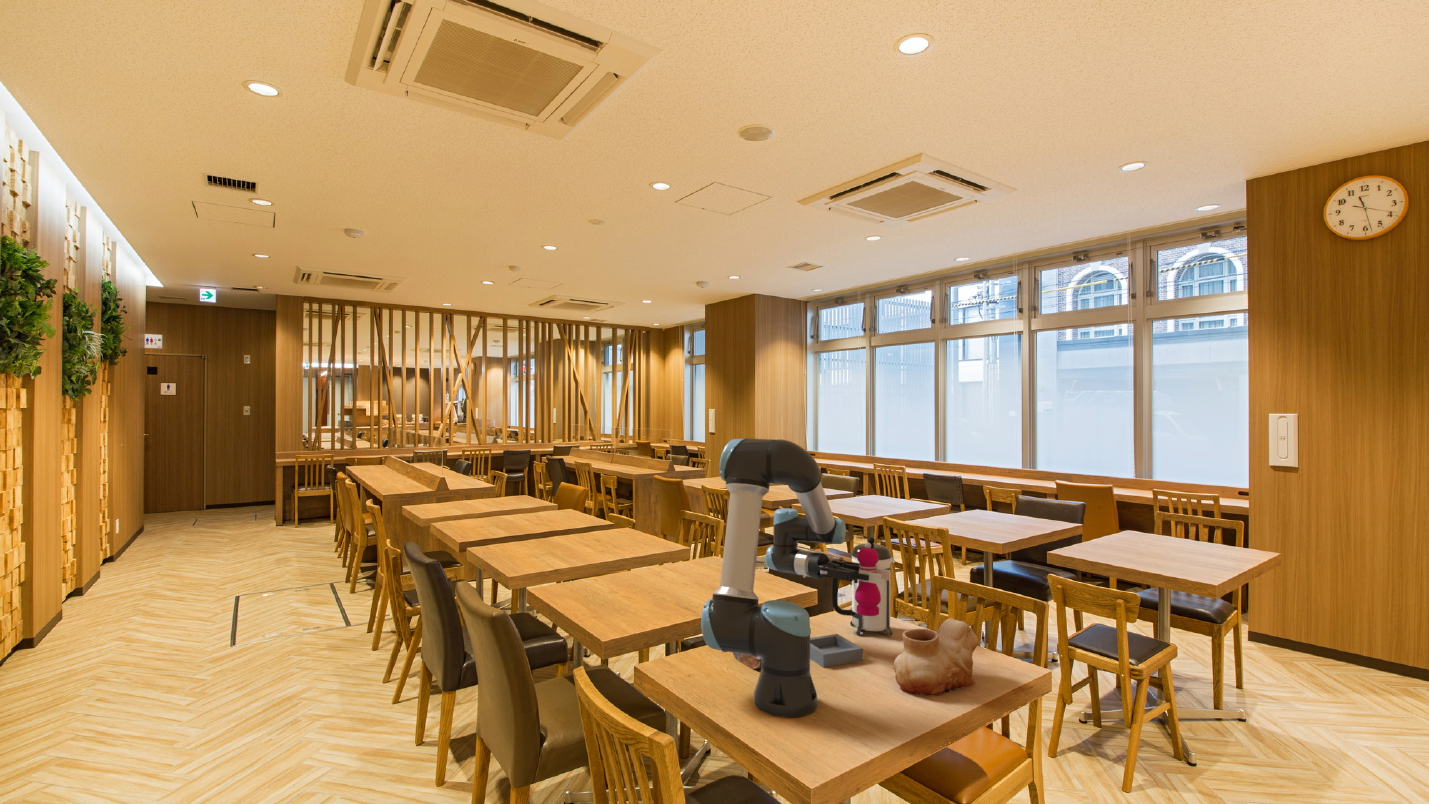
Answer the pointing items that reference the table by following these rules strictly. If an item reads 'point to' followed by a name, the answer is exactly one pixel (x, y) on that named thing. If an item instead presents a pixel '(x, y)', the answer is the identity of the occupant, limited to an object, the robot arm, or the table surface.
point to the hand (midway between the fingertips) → (885, 577)
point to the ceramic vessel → (936, 659)
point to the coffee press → (883, 617)
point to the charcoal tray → (834, 650)
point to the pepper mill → (867, 583)
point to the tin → (749, 660)
